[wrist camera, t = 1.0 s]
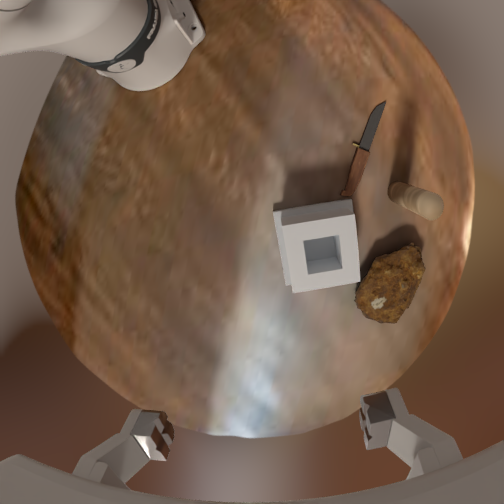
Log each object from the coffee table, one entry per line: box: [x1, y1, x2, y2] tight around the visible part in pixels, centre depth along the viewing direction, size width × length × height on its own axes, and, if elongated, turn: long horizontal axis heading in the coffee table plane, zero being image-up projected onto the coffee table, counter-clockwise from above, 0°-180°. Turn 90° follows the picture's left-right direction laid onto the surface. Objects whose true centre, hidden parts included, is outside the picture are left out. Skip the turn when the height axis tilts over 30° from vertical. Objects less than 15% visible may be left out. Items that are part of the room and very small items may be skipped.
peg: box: [388, 181, 444, 220], centre depth 38 cm, size 3×3×12 cm
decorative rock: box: [355, 242, 425, 323], centre depth 47 cm, size 11×4×15 cm
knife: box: [340, 102, 386, 197], centre depth 42 cm, size 17×1×3 cm
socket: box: [273, 199, 360, 293], centre depth 44 cm, size 12×12×6 cm
